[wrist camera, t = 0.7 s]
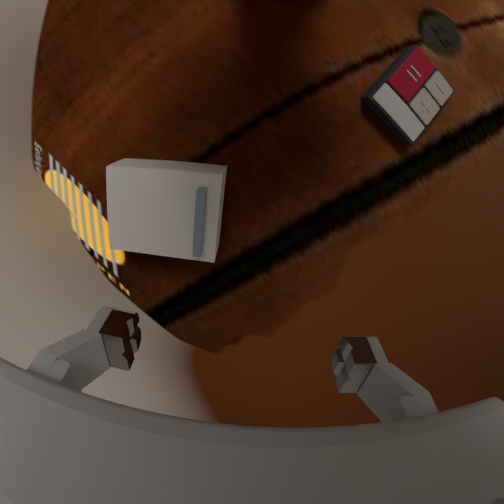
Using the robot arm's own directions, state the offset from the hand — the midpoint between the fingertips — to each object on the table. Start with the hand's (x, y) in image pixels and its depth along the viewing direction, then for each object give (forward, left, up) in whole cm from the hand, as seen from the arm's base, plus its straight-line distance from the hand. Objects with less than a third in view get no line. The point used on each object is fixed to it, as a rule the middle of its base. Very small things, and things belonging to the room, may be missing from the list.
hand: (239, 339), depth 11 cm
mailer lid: (+8, -13, -32) cm, 35 cm away
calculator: (-18, +24, -39) cm, 49 cm away
